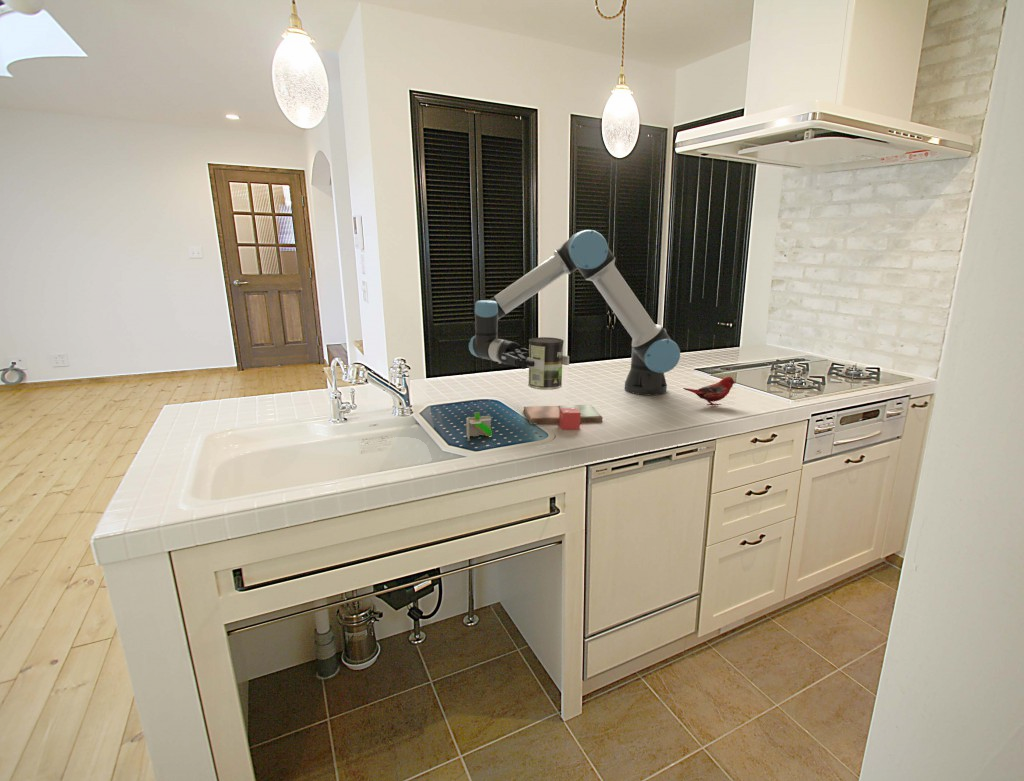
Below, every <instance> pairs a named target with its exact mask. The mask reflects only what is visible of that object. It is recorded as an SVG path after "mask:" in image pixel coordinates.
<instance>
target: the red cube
mask: <svg viewBox="0 0 1024 781" xmlns="http://www.w3.org/2000/svg"><path fill="white" fill-rule="evenodd" d="M558 425H559V426H560V428H561V430H562V431H564V430H566V431H568V430H580V428H581V423H580V411H579V410H578V409H577V408H560V410H559V423H558Z"/></svg>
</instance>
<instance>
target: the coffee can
mask: <svg viewBox="0 0 1024 781" xmlns="http://www.w3.org/2000/svg"><path fill="white" fill-rule="evenodd" d="M528 343H529V345H528V349H529V358H534V359H538V360H543V361H545V362H544V370H538V369H534V368H530V367H528V385H527V386H528V387H529V388H532V389H535V390H541V391H543V390H544V391H547V390H548V391H551V390H552V391H553V390H558V389H560V388H562V387H563V386H562V384H563V382H562V379H563V364H562V359H563V355H564V339H561V338H558V337H549V336H548V337H545V336H543V337H542V336H541V337H533V338H529V339H528Z"/></svg>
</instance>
